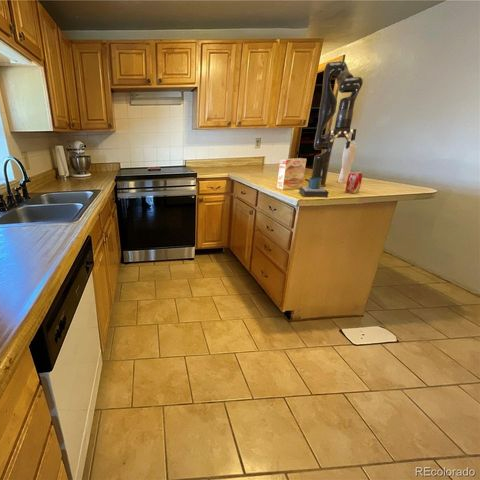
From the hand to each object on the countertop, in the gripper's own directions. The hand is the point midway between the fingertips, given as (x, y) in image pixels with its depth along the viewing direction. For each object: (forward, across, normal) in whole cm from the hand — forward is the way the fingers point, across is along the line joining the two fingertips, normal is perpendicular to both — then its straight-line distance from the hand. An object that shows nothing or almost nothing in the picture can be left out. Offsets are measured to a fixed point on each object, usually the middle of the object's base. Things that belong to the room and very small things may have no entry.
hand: (338, 148), depth 155 cm
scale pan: (+23, +11, +8) cm, 27 cm away
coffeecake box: (+26, +21, -12) cm, 36 cm away
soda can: (+26, -12, 0) cm, 28 cm away
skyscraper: (+26, -18, -38) cm, 50 cm away
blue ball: (+22, +11, +8) cm, 26 cm away
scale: (+26, +11, +8) cm, 29 cm away
